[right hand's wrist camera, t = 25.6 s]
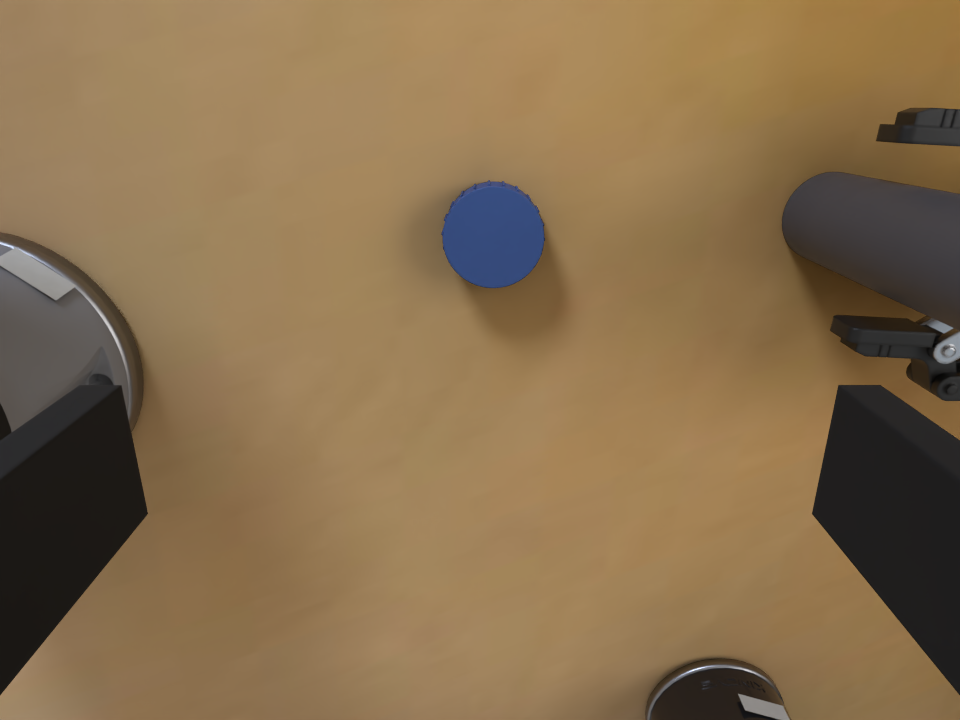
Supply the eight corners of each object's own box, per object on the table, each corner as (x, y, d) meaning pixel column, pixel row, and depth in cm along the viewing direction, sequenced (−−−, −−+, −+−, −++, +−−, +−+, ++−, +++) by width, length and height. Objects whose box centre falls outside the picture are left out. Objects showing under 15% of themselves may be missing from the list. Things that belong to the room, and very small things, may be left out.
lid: (559, 209, 35) (564, 216, 33) (512, 294, 37) (514, 306, 35) (472, 161, 34) (471, 165, 32) (427, 251, 36) (423, 260, 34)
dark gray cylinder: (764, 236, 36) (1011, 351, 19) (816, 155, 34) (1133, 202, 17) (834, 274, 36) (1133, 416, 20) (888, 196, 35) (1261, 279, 18)
